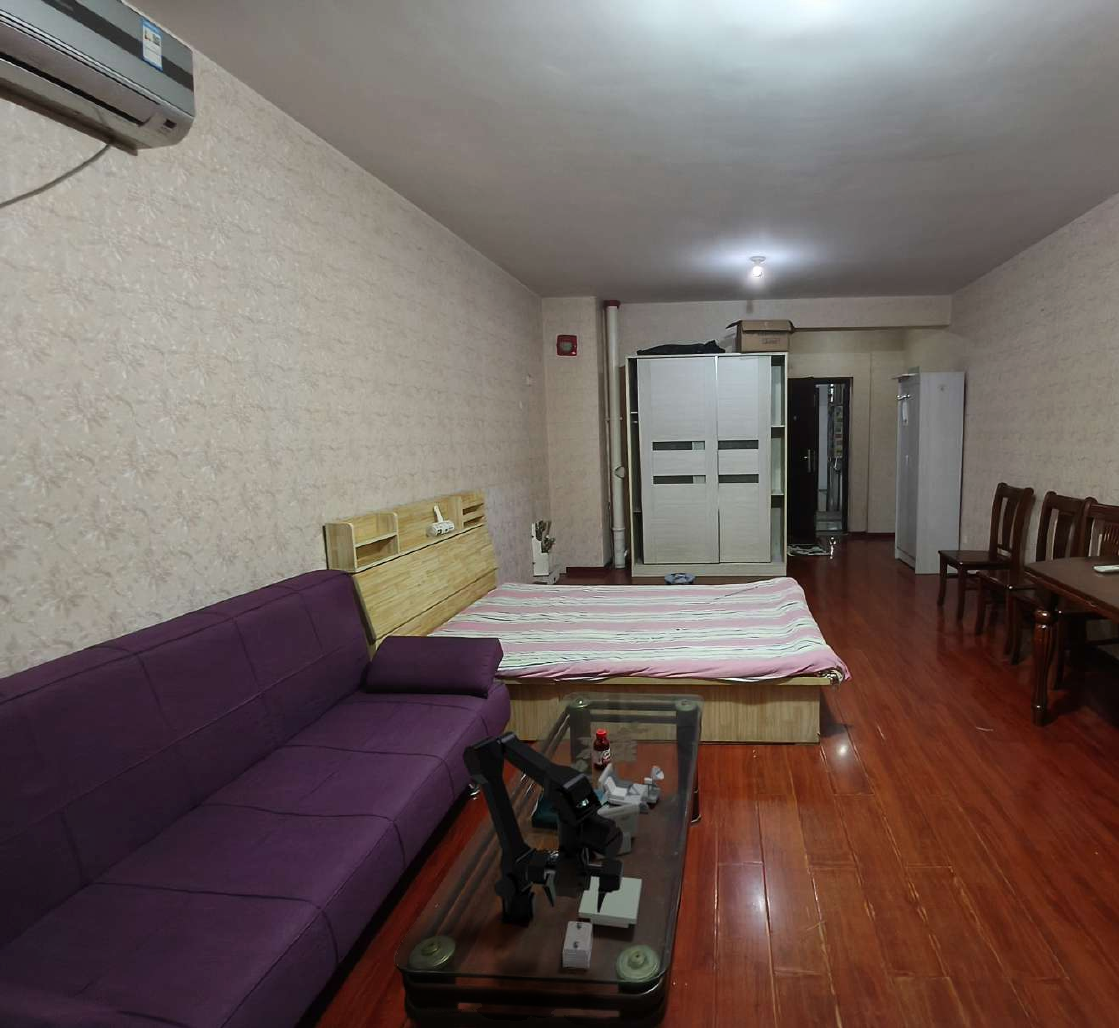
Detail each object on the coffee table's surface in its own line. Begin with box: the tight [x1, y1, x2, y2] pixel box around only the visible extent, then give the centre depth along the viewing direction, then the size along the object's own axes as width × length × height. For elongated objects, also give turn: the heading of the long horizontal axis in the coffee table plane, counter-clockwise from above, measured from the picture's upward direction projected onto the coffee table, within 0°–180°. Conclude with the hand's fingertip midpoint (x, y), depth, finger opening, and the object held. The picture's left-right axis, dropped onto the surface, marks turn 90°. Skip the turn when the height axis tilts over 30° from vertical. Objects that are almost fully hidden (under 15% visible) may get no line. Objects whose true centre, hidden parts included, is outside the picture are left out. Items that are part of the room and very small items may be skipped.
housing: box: [562, 920, 594, 968], centre depth 133 cm, size 5×8×4 cm, turn 171°
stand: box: [578, 876, 643, 929], centre depth 143 cm, size 12×12×4 cm
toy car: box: [597, 763, 665, 814], centre depth 185 cm, size 18×10×12 cm
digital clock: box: [593, 804, 640, 861], centre depth 165 cm, size 16×9×11 cm, turn 95°
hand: (576, 908), depth 132 cm, fingers open, 9 cm apart
